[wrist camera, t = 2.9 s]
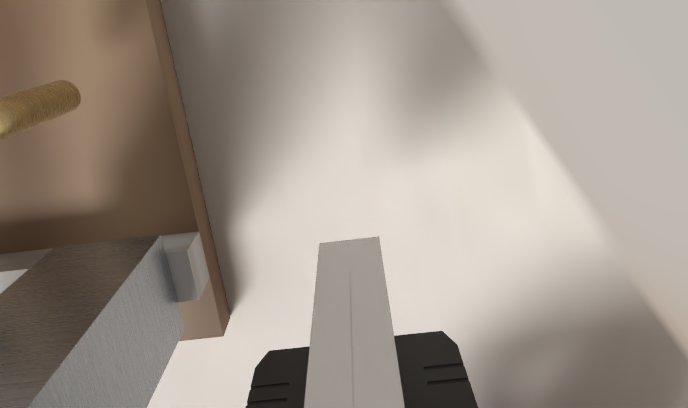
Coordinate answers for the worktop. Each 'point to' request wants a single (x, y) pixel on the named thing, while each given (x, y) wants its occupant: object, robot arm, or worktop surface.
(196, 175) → the brown wooden board
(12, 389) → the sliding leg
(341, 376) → the robot arm
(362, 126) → the worktop surface
